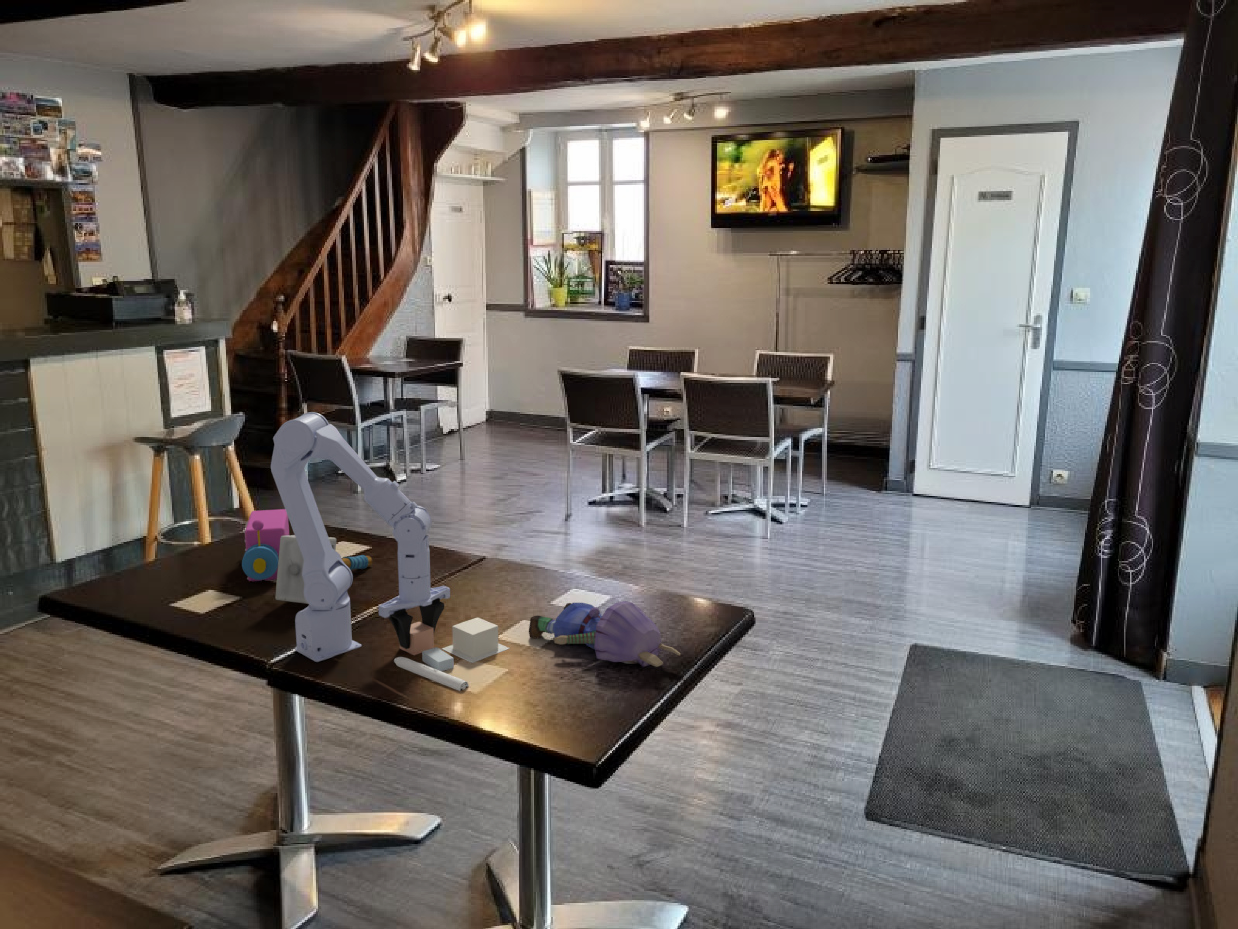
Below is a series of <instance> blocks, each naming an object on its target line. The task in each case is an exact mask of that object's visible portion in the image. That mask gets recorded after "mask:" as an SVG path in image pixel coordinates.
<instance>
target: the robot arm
mask: <svg viewBox="0 0 1238 929" xmlns="http://www.w3.org/2000/svg"><path fill="white" fill-rule="evenodd" d="M272 440H273V444H274V446H273V451H272V456H271V462H270V469H271V470H270V471H271V474H272V477H273V479H274V482H275V486H276V488H277V490H278V493H279V495H280V499H281V502H282V504H283V507H284V509H285V510H286V512H287V515H288V522H290V526H291V529H292V531H293V535H295V537H296V540H297V542H298V545H299V548H300V551H301V553H302V556H303V559H304V563H303V570H302V577H303V580H304V597H305V599H306V601H307V602H308V604H307V605H308V606H307V607H305V608H304V609H302V610H299V611H298V612H297V613H296V614H295V618H294V622H295V623H294V625H295V626H294V627H295V638H296V639H295V641H296V646H295V648H294V651H296V652H298V653H299V654H302V655H303V656H305V657H306V658H308V659H309V660H312V661H313V662H315V663H319V662H321V661H325V660H328V659H330V658H333V657H336V656H338V655H342V654H343V653H344V654H345V653H346V652H350V651H352V650H356V649H359V648H362V646H363V645H362V644H361V643H359V642H358V641H355V640H353V637H352V632H353V631H352V620H351V619H352V618H351V616H352V614H351V598H350V595H349V594H348V590H349V589H350V588H351V586H352V584H353V581H354V580H353V579H354V575H353V572H352V570H350V569H349V567H348V566H347V565H346V564H345V563H344V562H343V561H342V556H341V554H340V553H339V552H338V551H337V550H336V551H335V550H334V549H333V548H332V546H331V543H330V541H329V538H328V537H329V535H328V533H327V529H326V527H325V524H324V522H323V519H322V516H321V513H320V511H319V510H320V509H319V508H318V505H317V502H316V499H315V496H314V493H313V491H312V488H311V485H310V482H309V480H308V477H307V475H306V471H305V467H306V466H307V464H308V462H309V460H310V459H311V458H312V459H319V460H321V459H322V460H328V461H331V462H332V463H334V465H336V466H337V467H338V468H339V470H341V471H342V472H343V473H344V474H346V476H348V477H349V478H350V479H351V480H352V481H353V482H354V483H355V484H356V485H358V486H359V488H361V489H362V490H363V494H364V495H363V498H364V502H365V503H367V504H368V505H369V507H370V508H371V509H372V510H374V512H375V513H376V514H378V515H379V517H380V518H382V520H383V521H384V522H385V523H387V525H388V526H390V527H391V528H393V529H392V530H391V533H392V536H393V538H394V540H395V541H396V542H397V571H398V572H397V573H398V575H397V576H398V595H397V596H395V597H393V598H392V599H390V600H388V601H386V602H384V603H381V604H379V605H378V616H380V617H382V618H384V619H387V618H388V619H389V622H390V623H391V624H392V626H393V629H394V630H395V633H396V635H397V638H398V643H399V647H400V646H401V647H403V648H405V649H408V648H410V628H411V624H412V622H413V618H414V617H413V615H410V614H408V613H409V612H408V611H407V610H410V609H412V608H416V607H419V610H420V615H421V616H420V617H421V623H423V624H426V625H428V626H430V627H432V628H433V629H434V633H435V631H436V628H437V626H438V625H437V624H438V621H439V619H440V617H441V615H442V613H443V611H444V610H445V603H444V602H442V601H441V600H442V599H445V600H447V599H449V598H451V588H450V587H448V586H446V585H442V586H437V587H431V586H432V584H431V558H430V557H431V555H430V553H431V552H430V546H429V545H430V542H429V541H430V540H429V535H428V533H429V532H430V530H431V528H432V523H433V521H432V517H431V515H430V513H429V512H428V511H427V508H425V507H424V506H421V505H418V504H417V503H416V502H415V501H413V502H412V501H411V500H410V498H408V497H407V496H406V495H405V494H404V493H403V492H402V490H400V489H399V487H400V484H399V483H398V482H397V481H396V480H393V481H391V480H390V478H388V477H380V476H377V475H376V473H375V472H374V471H373V470H372V469H371V468H370V467H369V466H368V464H367V463H366V462H365V461H364V460H363V458H361V457H360V456H359V454H358V453H357V452H356V450H354V449H353V448H352V446H350V444H349V443H348V442H347V441H346V439H345V438H344V437H343V436H342V434H341V433H340V432H339V430H338V429H337V427H336V426H334V425H333V424H331V423H330V422H328V420H327V419H326V417H325V416H324V415H322V414H320V413H318V412H315V411H314V412H313V411H310V412H306V413H303V414H301V415H300V416H298V417H296V418H294V419H289V420H288V421H285V422H284V423H283V424H281V426H280V427H279V429H278V430H277V431H276V433H275V434H274V436H273V438H272Z"/></svg>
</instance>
